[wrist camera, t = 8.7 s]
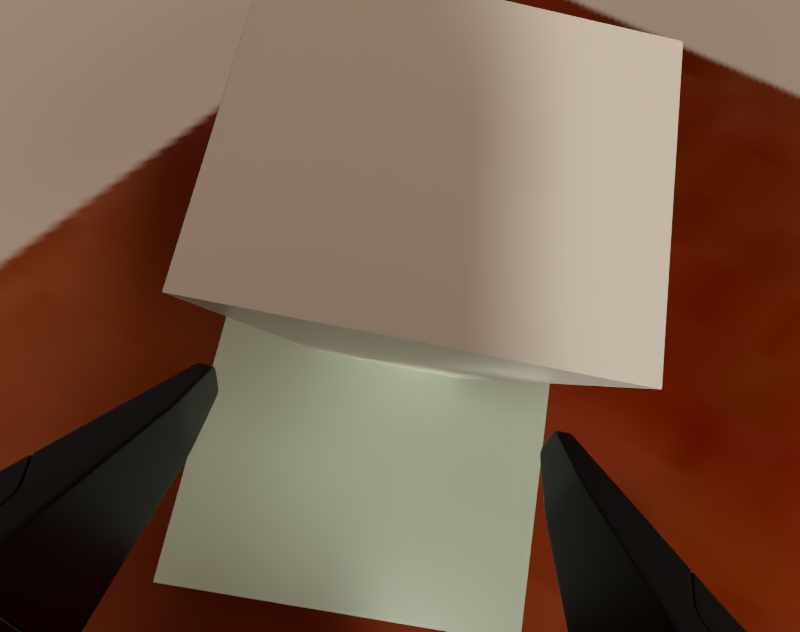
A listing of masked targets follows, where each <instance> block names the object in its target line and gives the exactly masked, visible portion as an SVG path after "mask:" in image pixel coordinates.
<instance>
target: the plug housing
mask: <svg viewBox="0 0 800 632" xmlns="http://www.w3.org/2000/svg"><path fill="white" fill-rule="evenodd" d="M682 50H683V41H679V40H674V39H670V38H665V37H661V36H657V35H653V34H648V33H644V32H640V31H635V30H631V29H627V28H622V27H618V26H614V25H609V24H605V23H600V22H596V21H592V20H587V19H583V18H579V17H574V16H570V15H566V14H561V13H557V12H553V11H548V10H544V9H540V8H535V7H531V6H527V5H522V4H518V3H514V2H509V1H505V0H253V1H252V4H251V8H250V11H249V14H248V17H247V20H246V24H245V27H244V30H243V33H242V37H241V40H240V43H239V46H238V49H237V53H236V56H235V59H234V62H233V66H232V69H231V72H230V75H229V78H228V81H227V85H226V88H225V91H224V94H223V98H222V101H221V104H220V107H219V110H218V114H217V117H216V120H215V123H214V126H213V130H212V133H211V136H210V139H209V142H208V146H207V149H206V152H205V155H204V159H203V162H202V165H201V168H200V171H199V175H198V178H197V181H196V184H195V187H194V191H193V194H192V197H191V200H190V204H189V207H188V210H187V213H186V216H185V220H184V223H183V226H182V229H181V232H180V236H179V239H178V242H177V245H176V249H175V252H174V255H173V258H172V261H171V265H170V268H169V271H168V274H167V277H166V281H165V284H164V287H163V290H162V292H163V293H166V294H169V295H171V296H174V297H176V298H179V299H182V300H184V301H187V302H190V303H192V304H195V305H197V306H200V307H203V308H205V309H208V310H210V311H213V312H216V313H218V314H221V315H224V316H226V317H229V318H231V319H234V320H237V321H239V322H242V323H245V324H247V325H250V326H252V327H255V328H258V329H260V330H263V331H266V332H268V333H271V334H273V335H276V336H279V337H281V338H284V339H287V340H289V341H292V342H294V343H297V344H300V345H302V346H305V347H307V348H310V349H313V350H315V351H318V352H324V353H329V354H334V355H339V356H344V357H350V358H355V359H360V360H365V361H370V362H376V363H381V364H386V365H391V366H396V367H402V368H407V369H412V370H417V371H422V372H428V373H433V374H438V375H443V376H448V377H454V378H463V379H481V380H499V381H517V382H535V383H553V384H571V385H590V386H608V387H626V388H644V389H662V377H663V361H664V344H665V328H666V312H667V295H668V279H669V263H670V246H671V230H672V213H673V197H674V181H675V164H676V148H677V132H678V115H679V99H680V82H681V66H682Z"/></svg>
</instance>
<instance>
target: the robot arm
mask: <svg viewBox="0 0 800 632" xmlns="http://www.w3.org/2000/svg"><path fill="white" fill-rule="evenodd" d="M217 394H218V382H217V375H216V370H215V368H214V367H213V366H211V365H206V364H200V363H199V364H195V365H193V366H191V367H189V368H187V369H186V370H184V371H182V372H180V373H178V374H176V375H175V376H173V377H171V378H169V379H167V380H166V381H164V382H162V383H160V384H158V385H156V386H155V387H153V388H151V389H149V390H147V391H145V392H144V393H142V394H140V395H138V396H136V397H135V398H133V399H131V400H129V401H127V402H125V403H124V404H122V405H120V406H118V407H116V408H114V409H113V410H111V411H109V412H107V413H105V414H104V415H102V416H100V417H98V418H96V419H94V420H93V421H91V422H89V423H87V424H85V425H83V426H82V427H80V428H78V429H76V430H74V431H73V432H71V433H69V434H67V435H65V436H63V437H62V438H60V439H58V440H56V441H54V442H53V443H51V444H49V445H47V446H45V447H43V448H42V449H40V450H38V451H36V452H34V453H33V455H32V456H31V455H29V456H27V457H25V458H23V459H21V460H19V461H18V462H16V463H14V464H12V465H10V466H8V467H7V468H5V469H3V470H1V471H0V632H82V630H83V628H84V627H85V625H86V623H87V622H88V620H89V618H90V617H91V615H92V613H93V612H94V610H95V609H96V607H97V605H98V604H99V602H100V600H101V599H102V597H103V595H104V594H105V592H106V590H107V589H108V587H109V585H110V584H111V582H112V581H113V579H114V577H115V576H116V574H117V572H118V571H119V569H120V567H121V566H122V564H123V562H124V561H125V559H126V558H127V556H128V554H129V553H130V551H131V549H132V548H133V546H134V544H135V543H136V541H137V539H138V538H139V536H140V534H141V533H142V531H143V530H144V528H145V526H146V525H147V523H148V521H149V520H150V518H151V516H152V515H153V513H154V511H155V510H156V508H157V507H158V505H159V503H160V502H161V500H162V498H163V497H164V495H165V493H166V492H167V490H168V488H169V487H170V485H171V483H172V482H173V480H174V479H175V477H176V475H177V474H178V472H179V470H180V469H181V467H182V465H183V464H184V462H185V460H186V459H187V457H188V455H189V454H190V452H191V450H192V448H193V446H194V444H195V442H196V440H197V438H198V436H199V433H200V431H201V429H202V427H203V425H204V423H205V421H206V418H207V416H208V414H209V412H210V410H211V408H212V406H213V404H214V401H215V399H216V397H217ZM540 462H541V473H542V485H543V496H544V507H545V515H546V521H547V527H548V532H549V537H550V542H551V548H552V553H553V558H554V563H555V568H556V573H557V579H558V584H559V589H560V594H561V599H562V605H563V610H564V615H565V620H566V625H567V630H568V632H747V631H746V630H745V629H744V628H743V627H742V626H741V625H740V624H739V623H738V622H737V621H736V620H735V619H734V618H733V616H732V615H731V614H730V613H729V612H728V611H727V610H726V609H725V608H724V607H723V605H722V604H721V603H720V602H719V601H718V600H717V599H716V598H715V597H714V595H713V594H712V593H711V592H710V591H709V590H708V589H707V588H706V587H705V585H704V584H703V583H702V582H701V581H700V580H699V579H698V577H697V576H696V575H695V574H694V573H691V570H690V568H689V567H688V566H687V565H686V564H685V563H684V562H683V561H682V559H681V558H680V557H679V556H678V555H677V554H676V553H675V551H674V550H673V549H672V548H671V547H670V546H669V545H668V544H667V542H666V541H665V540H664V539H663V538H662V537H661V536H660V534H659V533H658V532H657V531H656V530H655V529H654V528H653V526H652V525H651V524H650V523H649V522H648V521H647V520H646V519H645V517H644V516H643V515H642V514H641V513H640V512H639V511H638V509H637V508H636V507H635V506H634V505H633V504H632V503H631V501H630V500H629V499H628V498H627V497H626V496H625V495H624V494H623V492H622V491H621V490H620V489H619V488H618V487H617V486H616V484H615V483H614V482H613V481H612V480H611V479H610V478H609V477H608V475H607V474H606V473H605V472H604V471H603V470H602V469H601V467H600V466H599V465H598V464H597V463H596V462H595V461H594V459H593V458H592V457H591V456H590V455H589V454H588V453H587V452H586V450H585V449H584V448H583V447H582V446H581V445H580V444H579V442H578V441H577V440H576V439H575V438H574V437H573V436H572V435H571V434H569V433H565V432H560V431H555V432H553V433H552V434H551V435H550V437H549V438H548V440H547V441H546V443H545V444H544V446H543V447H542V449H541V453H540Z"/></svg>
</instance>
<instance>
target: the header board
mask: <svg viewBox="0 0 800 632" xmlns="http://www.w3.org/2000/svg"><path fill="white" fill-rule="evenodd" d="M213 367H214V368H215V370H216V375H217V382H218V394H217V397H216V399H215V401H214V404H213V406H212V408H211V410H210V412H209V414H208V416H207V418H206V421H205V423H204V425H203V427H202V429H201V431H200V433H199V436H198V438H197V440H196V442H195V444H194V446H193V448H192V450H191V452H190V454H189V455H188V457H187V461H186V464H185V468H184V472H183V475H182V479H181V483H180V486H179V490H178V493H177V497H176V501H175V504H174V508H173V512H172V515H171V519H170V522H169V526H168V530H167V533H166V537H165V540H164V544H163V548H162V551H161V555H160V559H159V562H158V566H157V569H156V573H155V577H154V580H153V582H155V583H161V584H167V585H173V586H179V587H185V588H191V589H197V590H203V591H209V592H215V593H221V594H227V595H233V596H239V597H244V598H250V599H256V600H262V601H268V602H274V603H280V604H286V605H292V606H298V607H304V608H310V609H316V610H322V611H328V612H334V613H340V614H346V615H352V616H358V617H364V618H370V619H376V620H382V621H388V622H394V623H400V624H406V625H411V626H417V627H423V628H429V629H435V630H441V631H447V632H521V630H522V621H523V612H524V603H525V595H526V586H527V577H528V568H529V560H530V551H531V542H532V533H533V525H534V516H535V507H536V499H537V490H538V481H539V472H540V464H541V462H540V453H541V449H542V446H543V437H544V429H545V420H546V411H547V402H548V394H549V385H550V383H535V382H517V381H499V380H481V379H463V378H454V377H448V376H443V375H438V374H433V373H428V372H422V371H417V370H412V369H407V368H402V367H396V366H391V365H386V364H381V363H376V362H370V361H365V360H360V359H355V358H350V357H344V356H339V355H334V354H329V353H324V352H318V351H315V350H313V349H310V348H307V347H305V346H302V345H300V344H297V343H294V342H292V341H289V340H287V339H284V338H281V337H279V336H276V335H273V334H271V333H268V332H266V331H263V330H260V329H258V328H255V327H252V326H250V325H247V324H245V323H242V322H239V321H237V320H234V319H231V318H229V317H226V320H225V323H224V327H223V331H222V334H221V338H220V341H219V345H218V349H217V352H216V356H215V359H214V363H213Z"/></svg>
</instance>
